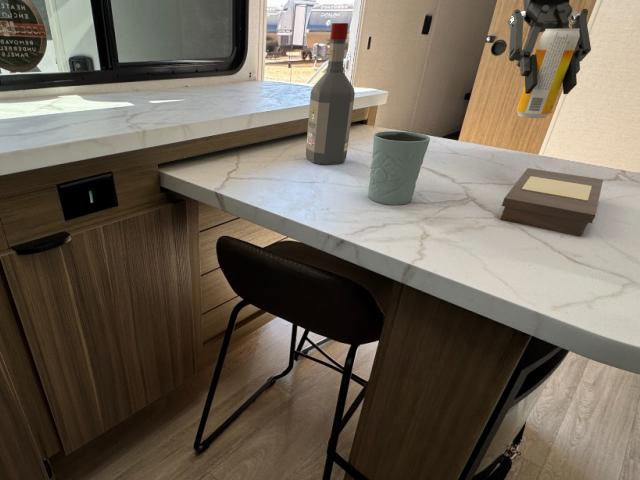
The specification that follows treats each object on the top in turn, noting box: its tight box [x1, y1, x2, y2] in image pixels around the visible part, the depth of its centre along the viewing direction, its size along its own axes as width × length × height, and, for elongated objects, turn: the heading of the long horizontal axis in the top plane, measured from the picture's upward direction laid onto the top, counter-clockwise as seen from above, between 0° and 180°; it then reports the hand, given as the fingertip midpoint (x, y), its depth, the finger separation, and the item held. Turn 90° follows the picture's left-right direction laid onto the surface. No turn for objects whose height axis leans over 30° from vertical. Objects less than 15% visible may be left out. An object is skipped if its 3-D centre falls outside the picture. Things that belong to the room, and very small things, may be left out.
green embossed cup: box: [367, 130, 431, 206], centre depth 81 cm, size 10×10×12 cm
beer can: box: [515, 28, 580, 119], centre depth 81 cm, size 6×6×15 cm
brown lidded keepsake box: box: [500, 167, 604, 237], centre depth 78 cm, size 24×13×4 cm, turn 141°
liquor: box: [305, 22, 356, 166], centre depth 101 cm, size 9×9×30 cm
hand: (550, 88), depth 79 cm, fingers closed on beer can, 6 cm apart
